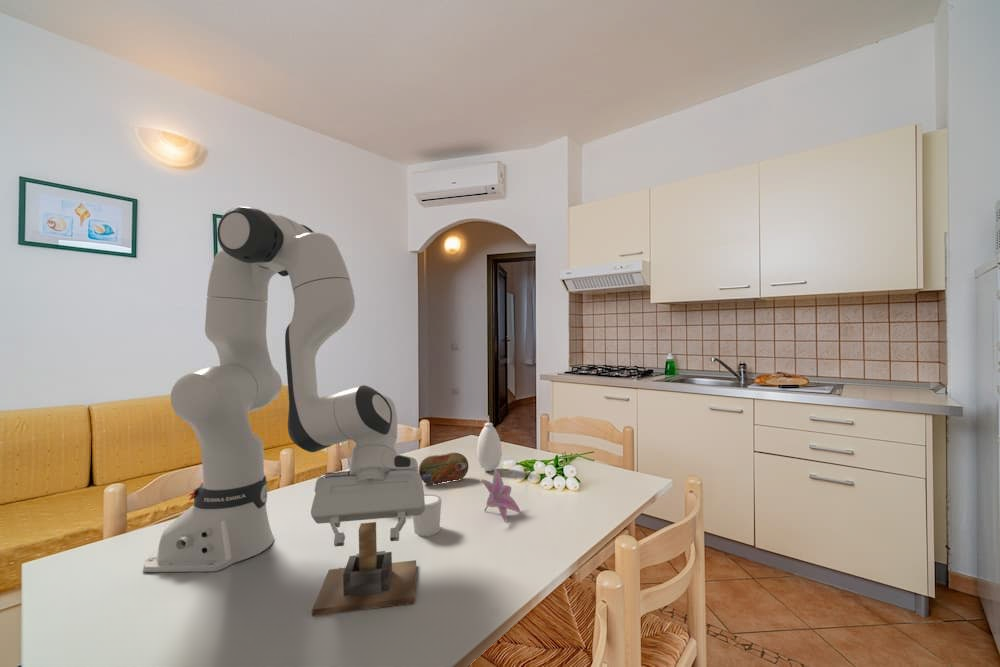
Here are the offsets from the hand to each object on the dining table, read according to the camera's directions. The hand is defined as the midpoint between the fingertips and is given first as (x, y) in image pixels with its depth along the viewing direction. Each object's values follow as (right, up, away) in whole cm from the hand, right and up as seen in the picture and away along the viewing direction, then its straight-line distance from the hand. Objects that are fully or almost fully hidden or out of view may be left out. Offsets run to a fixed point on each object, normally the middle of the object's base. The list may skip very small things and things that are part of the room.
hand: (367, 542), depth 76 cm
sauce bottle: (+20, -8, +64) cm, 68 cm away
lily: (+23, -8, +30) cm, 39 cm away
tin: (+6, -8, +55) cm, 56 cm away
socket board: (0, -8, 0) cm, 8 cm away
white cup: (+7, -8, +23) cm, 25 cm away
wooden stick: (0, -7, 0) cm, 7 cm away
